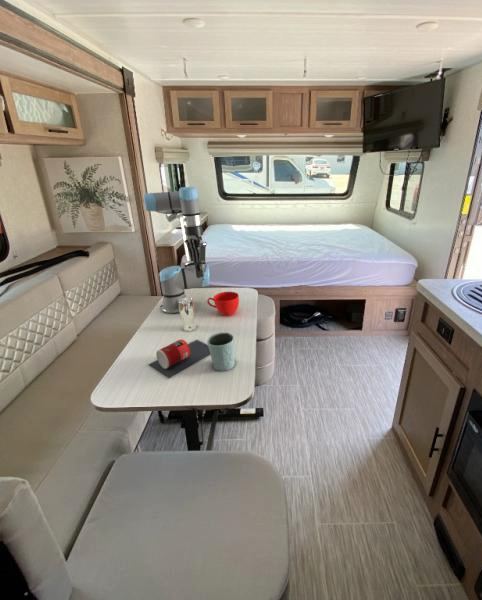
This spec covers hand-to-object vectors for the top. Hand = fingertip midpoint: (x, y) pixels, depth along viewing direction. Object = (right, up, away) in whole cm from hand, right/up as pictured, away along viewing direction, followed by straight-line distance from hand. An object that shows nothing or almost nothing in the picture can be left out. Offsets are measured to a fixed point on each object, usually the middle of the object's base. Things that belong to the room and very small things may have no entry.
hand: (200, 276), depth 148 cm
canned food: (-3, -30, -14) cm, 34 cm away
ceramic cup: (+8, -18, +25) cm, 32 cm away
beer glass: (-7, -25, +11) cm, 28 cm away
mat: (-4, -35, -13) cm, 37 cm away
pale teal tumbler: (+14, -37, -19) cm, 44 cm away
